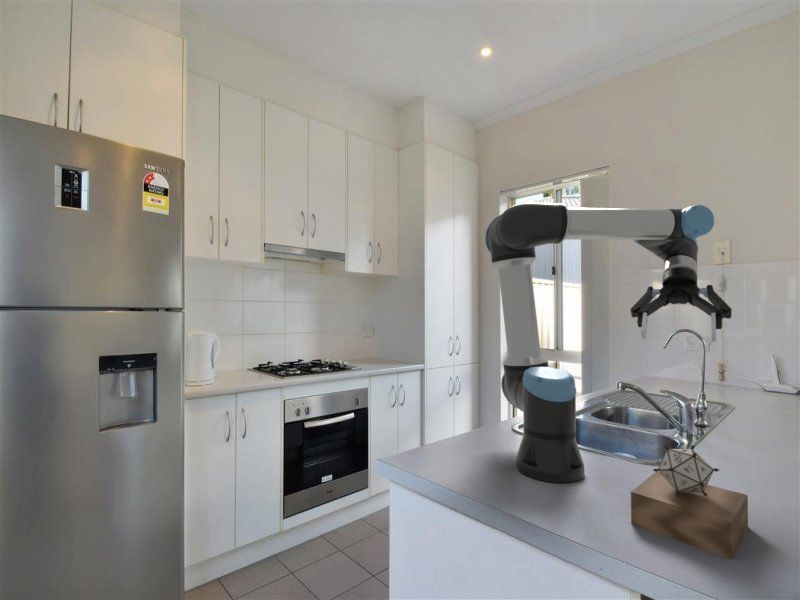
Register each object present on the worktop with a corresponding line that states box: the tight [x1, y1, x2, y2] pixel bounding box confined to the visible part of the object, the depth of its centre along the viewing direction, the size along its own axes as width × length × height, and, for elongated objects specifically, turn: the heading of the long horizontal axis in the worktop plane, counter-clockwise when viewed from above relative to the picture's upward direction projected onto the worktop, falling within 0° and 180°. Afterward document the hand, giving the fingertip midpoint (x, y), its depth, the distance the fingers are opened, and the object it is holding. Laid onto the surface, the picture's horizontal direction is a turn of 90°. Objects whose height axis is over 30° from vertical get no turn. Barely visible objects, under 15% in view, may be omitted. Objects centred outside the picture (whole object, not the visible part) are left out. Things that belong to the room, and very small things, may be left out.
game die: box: [652, 444, 720, 496], centre depth 72 cm, size 9×8×10 cm
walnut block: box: [630, 471, 749, 560], centre depth 72 cm, size 14×14×6 cm
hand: (677, 336), depth 95 cm, fingers open, 13 cm apart
